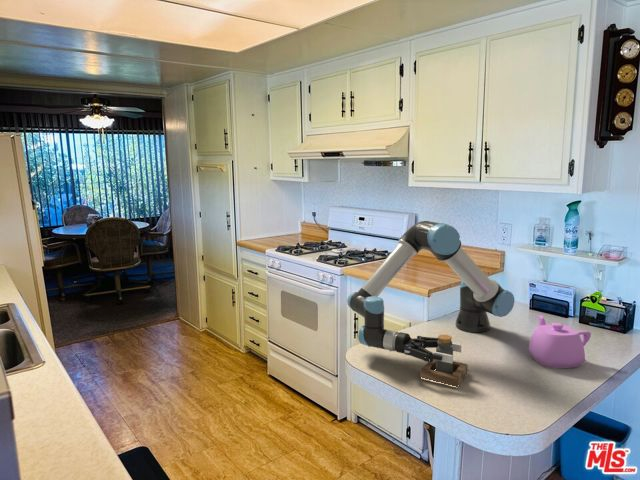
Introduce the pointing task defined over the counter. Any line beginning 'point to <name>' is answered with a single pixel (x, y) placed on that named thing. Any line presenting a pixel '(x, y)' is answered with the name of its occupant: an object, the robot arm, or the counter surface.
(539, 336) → the teapot
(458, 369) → the block
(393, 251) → the robot arm
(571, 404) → the counter surface
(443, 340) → the bottle
